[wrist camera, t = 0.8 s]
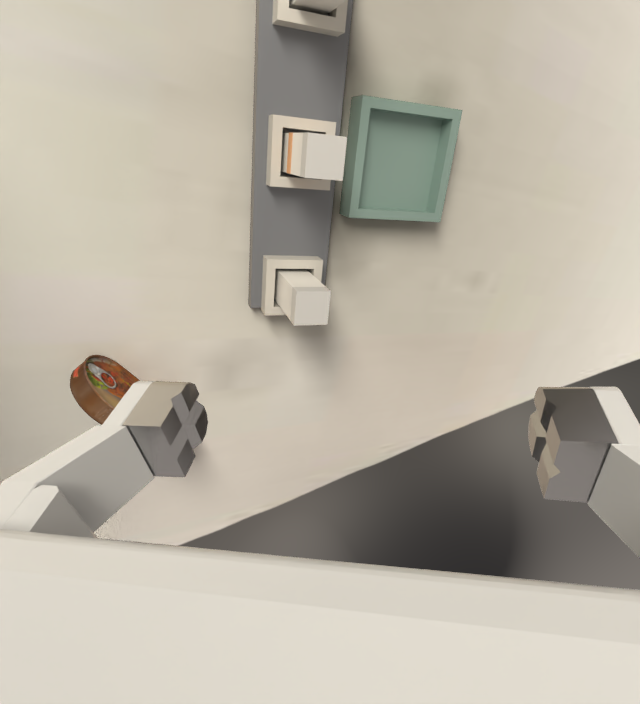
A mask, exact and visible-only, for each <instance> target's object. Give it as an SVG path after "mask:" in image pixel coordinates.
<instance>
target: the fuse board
mask: <svg viewBox="0 0 640 704" xmlns="http://www.w3.org/2000/svg"><path fill="white" fill-rule="evenodd" d="M352 5H353V0H347V1H345V2H344V3H342V4H341V5H339V6H338V7H337V8H335V9H334V10H332V11H331V12H329V13H328V14H327V15H321V14H316V13H311V12H307V11H302V10H297V9H292V8H289V0H256V32H255V70H254V108H253V146H252V185H251V223H250V261H249V299H248V304H249V306H250V308H261V310H262V312H263V314H264V315H265V316H268V315H286V314H285V313H284V311H283V310H282V309H281V307H280V306H279V305H278V303H277V302H276V300H275V299H274V290H275V270H276V269H306V270H308V271H309V272H310V273H311V274H312V275H313V276H314V277H315V278H317V279H318V280H319V281H320V282H321V283H322V284H323V285H325V278H326V268H327V258H328V248H329V238H330V228H331V218H332V208H333V198H334V187H335V180H326V179H314V178H304V177H300V176H297V175H293V174H289V173H286V172H282V171H281V152H282V133H292V132H293V133H305V132H308V133H317V134H326V135H335V136H340V127H341V117H342V106H343V96H344V86H345V76H346V66H347V56H348V46H349V36H350V26H351V15H352Z"/></svg>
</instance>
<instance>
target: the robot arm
mask: <svg viewBox="0 0 640 704" xmlns="http://www.w3.org/2000/svg"><path fill="white" fill-rule="evenodd" d="M198 395H199V393H198V390H197V388H196V386H195V384H193V383H190V382H164V381H155V382H153V381H138V382H136V383H133V384H132V386H131V387H130V388H129V390H128V391H127V392H126V394H125V395H124V396H123V398H122V399H121V400H120V402H119V403H118V404H117V406H116V407H115V408H114V410H113V411H112V412H111V414H110V415H109V416H108V418H107V419H106V420H105V422H104V423H103V424H102V425H96V426H94V427H93V428H91V429H89V430H88V431H86V432H84V433H83V434H81V435H79V436H78V437H76V438H74V439H73V440H71V441H69V442H68V443H66V444H64V445H63V446H61V447H59V448H57V449H56V450H54V451H52V452H51V453H49V454H47V455H46V456H44V457H42V458H41V459H39V460H37V461H36V462H34V463H32V464H31V465H29V466H27V467H26V468H24V469H22V470H21V471H19V472H17V473H16V474H14V475H12V476H11V477H9V478H7V479H6V480H4V481H3V482H2V483H1V484H0V704H640V590H635V589H624V588H613V587H603V586H593V585H581V584H571V583H561V582H551V581H539V580H529V579H519V578H509V577H499V576H487V575H477V574H466V573H456V572H445V571H435V570H424V569H414V568H403V567H393V566H382V565H371V564H361V563H350V562H340V561H329V560H318V559H307V558H298V557H288V556H277V555H267V554H256V553H245V552H235V551H225V550H215V549H204V548H193V547H183V546H173V545H162V544H152V543H141V542H131V541H120V540H110V539H99V538H97V537H96V535H95V534H94V533H93V532H94V531H95V530H97V529H98V528H99V527H100V526H101V525H102V524H103V523H104V522H105V521H107V520H108V519H109V518H110V517H111V516H112V515H113V514H114V513H116V512H117V511H118V510H119V509H120V508H121V507H122V506H123V505H125V504H126V503H127V502H128V501H129V500H130V499H131V498H132V497H134V496H135V495H136V494H137V493H138V492H139V491H140V490H141V489H142V488H144V487H145V486H146V485H147V484H148V483H149V482H150V481H151V480H153V479H154V476H166V477H185V476H186V474H187V472H188V470H189V468H190V466H191V464H192V462H193V460H194V458H195V453H194V450H193V449H194V448H195V447H196V446H198V445H199V444H200V443H202V441H203V439H204V437H205V435H206V431H207V424H208V420H207V413H206V411H205V408H204V406H203V405H201V404H200V403H199V402H198V401H196V399H197V397H198ZM534 403H535V406H536V409H537V410H536V411H535V412H534V413H532V414H531V416H530V421H529V436H528V437H529V445H530V450H531V454H532V457H534V458H535V459H536V460H537V461H538V462H539V465H538V469H537V476H538V479H539V483H540V487H541V490H542V494H543V498H544V499H552V500H564V501H575V502H587V503H588V505H589V506H590V507H591V508H592V509H593V510H594V512H595V513H597V515H598V516H599V517H600V518H601V519H602V520H603V521H604V522H605V523H606V524H607V525H608V526H609V527H610V528H611V529H612V530H613V531H614V532H615V533H616V534H617V535H618V537H619V538H620V539H621V540H622V541H623V542H624V543H625V544H626V545H627V546H628V547H629V548H630V549H631V550H632V551H633V552H634V553H635V554H636V555H637V556H638V557H639V558H640V424H639V422H638V421H637V419H636V418H635V415H634V414H633V412H632V410H631V408H630V406H629V405H628V403H627V401H626V400H625V398H624V396H623V394H622V392H621V391H620V389H618V388H617V387H589V388H588V387H538V389H537V391H536V393H535V397H534Z"/></svg>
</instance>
